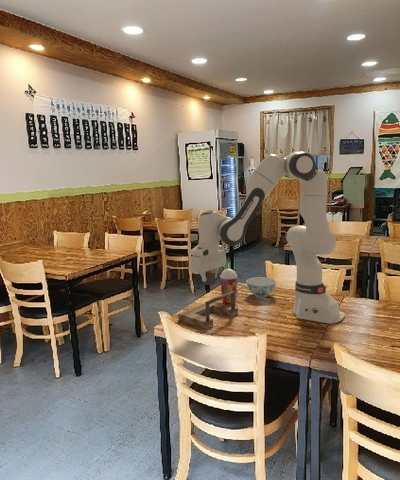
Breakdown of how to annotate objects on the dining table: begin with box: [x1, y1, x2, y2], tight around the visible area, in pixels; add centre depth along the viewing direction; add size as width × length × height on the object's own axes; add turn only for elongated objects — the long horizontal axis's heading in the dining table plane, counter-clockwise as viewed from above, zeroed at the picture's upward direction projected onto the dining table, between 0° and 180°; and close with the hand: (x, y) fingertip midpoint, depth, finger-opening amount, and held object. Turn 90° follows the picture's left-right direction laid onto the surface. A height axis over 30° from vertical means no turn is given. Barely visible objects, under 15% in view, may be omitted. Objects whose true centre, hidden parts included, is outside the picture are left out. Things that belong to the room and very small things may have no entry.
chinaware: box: [245, 276, 277, 299], centre depth 208 cm, size 15×15×8 cm
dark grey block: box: [203, 270, 216, 286], centre depth 177 cm, size 5×5×6 cm
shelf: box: [178, 291, 239, 330], centre depth 180 cm, size 16×22×11 cm
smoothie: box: [219, 263, 238, 306], centre depth 197 cm, size 8×8×20 cm
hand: (209, 279), depth 177 cm, fingers closed on dark grey block, 5 cm apart
